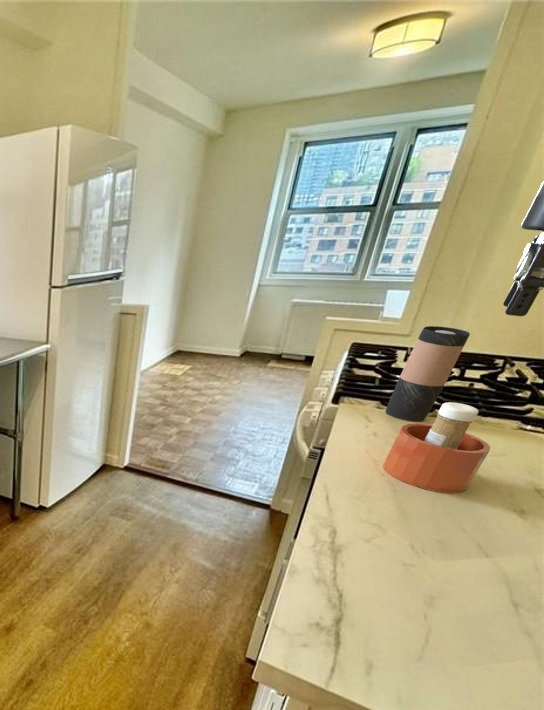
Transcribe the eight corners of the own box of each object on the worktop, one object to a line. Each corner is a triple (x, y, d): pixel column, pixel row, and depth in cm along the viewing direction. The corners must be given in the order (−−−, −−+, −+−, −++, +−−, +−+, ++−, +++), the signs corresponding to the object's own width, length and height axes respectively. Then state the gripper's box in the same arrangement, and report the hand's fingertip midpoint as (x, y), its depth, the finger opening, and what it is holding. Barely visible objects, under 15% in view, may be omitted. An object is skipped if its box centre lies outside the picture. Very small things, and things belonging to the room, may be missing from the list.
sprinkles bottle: (446, 482, 86) (485, 413, 80) (414, 476, 88) (450, 409, 82) (434, 470, 90) (471, 403, 84) (404, 465, 92) (438, 399, 85)
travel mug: (435, 422, 110) (481, 334, 100) (402, 422, 110) (445, 335, 100) (406, 408, 116) (447, 325, 107) (375, 408, 116) (413, 326, 107)
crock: (421, 458, 95) (440, 422, 91) (485, 490, 85) (510, 451, 81) (367, 462, 94) (384, 425, 90) (425, 494, 84) (447, 454, 80)
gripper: (629, 193, 61) (553, 323, 68) (610, 192, 70) (544, 307, 77) (541, 193, 65) (479, 314, 73) (533, 192, 74) (479, 300, 82)
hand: (512, 310), depth 75 cm, fingers open, 8 cm apart
